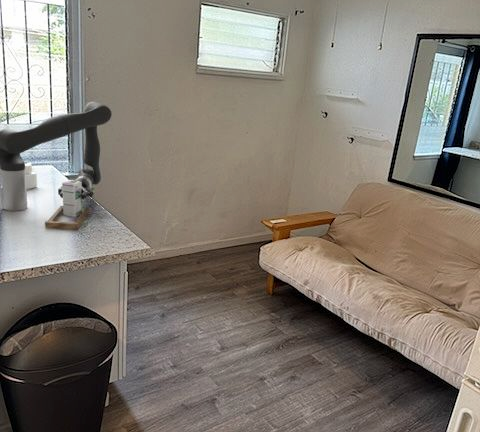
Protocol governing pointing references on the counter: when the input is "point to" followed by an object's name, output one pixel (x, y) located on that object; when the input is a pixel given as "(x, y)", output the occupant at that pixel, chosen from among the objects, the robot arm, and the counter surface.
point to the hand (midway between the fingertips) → (72, 196)
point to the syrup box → (72, 198)
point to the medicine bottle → (30, 176)
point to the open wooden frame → (67, 225)
